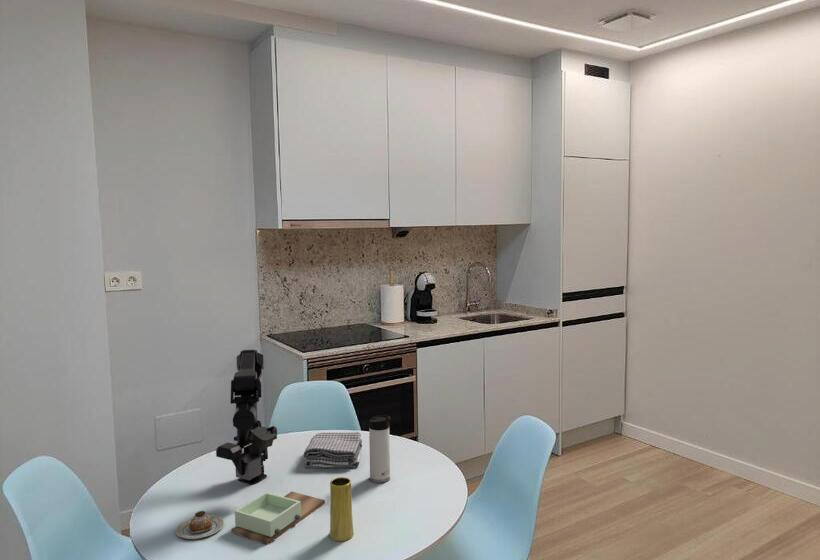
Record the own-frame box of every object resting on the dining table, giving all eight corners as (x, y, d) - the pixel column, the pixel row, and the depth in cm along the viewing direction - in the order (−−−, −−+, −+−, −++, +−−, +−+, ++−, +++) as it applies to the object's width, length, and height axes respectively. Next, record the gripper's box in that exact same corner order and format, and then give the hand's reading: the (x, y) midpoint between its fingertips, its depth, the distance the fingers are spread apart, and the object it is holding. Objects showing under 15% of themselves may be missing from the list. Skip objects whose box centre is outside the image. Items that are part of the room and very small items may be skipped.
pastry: (223, 538, 148) (223, 521, 147) (173, 546, 144) (172, 528, 144) (224, 516, 159) (223, 500, 159) (177, 522, 156) (177, 506, 155)
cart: (233, 525, 151) (232, 510, 150) (264, 505, 161) (264, 491, 161) (273, 537, 145) (273, 522, 144) (303, 516, 155) (303, 502, 155)
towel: (313, 451, 204) (312, 430, 203) (364, 452, 203) (364, 430, 202) (303, 469, 189) (302, 446, 188) (358, 470, 188) (358, 447, 187)
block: (235, 476, 164) (235, 459, 164) (248, 470, 169) (247, 453, 168) (249, 480, 162) (248, 463, 162) (261, 473, 167) (260, 456, 166)
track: (231, 532, 149) (231, 529, 149) (291, 494, 171) (291, 491, 170) (267, 544, 144) (267, 540, 144) (324, 503, 165) (324, 500, 165)
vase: (330, 529, 151) (329, 476, 149) (353, 528, 151) (352, 475, 150) (329, 542, 145) (327, 487, 143) (353, 540, 145) (352, 486, 144)
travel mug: (388, 484, 177) (387, 420, 175) (367, 482, 178) (366, 419, 177) (393, 475, 183) (392, 414, 181) (372, 473, 184) (372, 412, 183)
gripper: (244, 433, 152) (246, 490, 153) (290, 413, 168) (291, 464, 170) (213, 426, 157) (215, 482, 159) (261, 407, 174) (262, 458, 175)
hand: (248, 471), depth 165 cm, fingers closed on block, 5 cm apart
